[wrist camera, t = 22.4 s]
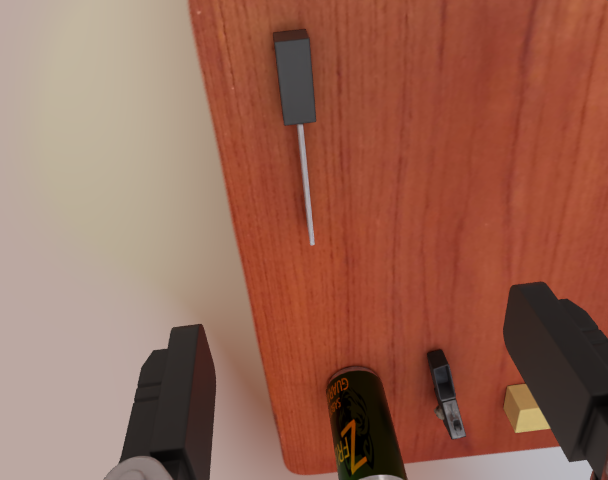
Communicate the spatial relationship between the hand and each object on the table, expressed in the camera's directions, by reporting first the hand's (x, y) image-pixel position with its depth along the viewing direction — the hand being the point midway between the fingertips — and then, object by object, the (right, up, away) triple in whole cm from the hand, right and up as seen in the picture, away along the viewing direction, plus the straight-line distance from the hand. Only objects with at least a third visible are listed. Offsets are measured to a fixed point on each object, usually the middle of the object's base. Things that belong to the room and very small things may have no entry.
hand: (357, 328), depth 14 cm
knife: (-2, +9, +22) cm, 24 cm away
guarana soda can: (+3, -11, +36) cm, 38 cm away
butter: (+22, -13, +39) cm, 47 cm away
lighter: (+11, -11, +37) cm, 40 cm away
